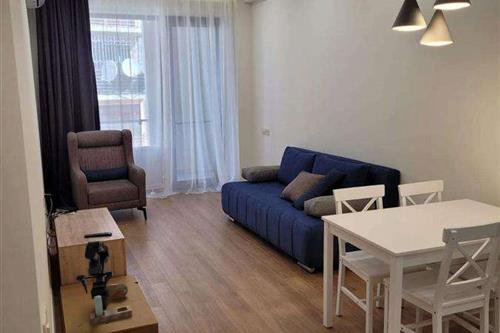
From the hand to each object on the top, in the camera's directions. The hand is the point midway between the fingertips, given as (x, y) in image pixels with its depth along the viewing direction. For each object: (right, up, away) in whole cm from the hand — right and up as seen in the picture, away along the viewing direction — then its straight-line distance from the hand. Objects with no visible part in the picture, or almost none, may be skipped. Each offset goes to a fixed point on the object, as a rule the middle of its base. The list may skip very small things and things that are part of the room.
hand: (95, 292), depth 247 cm
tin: (+2, -11, +29) cm, 32 cm away
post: (+2, -15, +1) cm, 15 cm away
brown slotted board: (+7, -15, +3) cm, 17 cm away
